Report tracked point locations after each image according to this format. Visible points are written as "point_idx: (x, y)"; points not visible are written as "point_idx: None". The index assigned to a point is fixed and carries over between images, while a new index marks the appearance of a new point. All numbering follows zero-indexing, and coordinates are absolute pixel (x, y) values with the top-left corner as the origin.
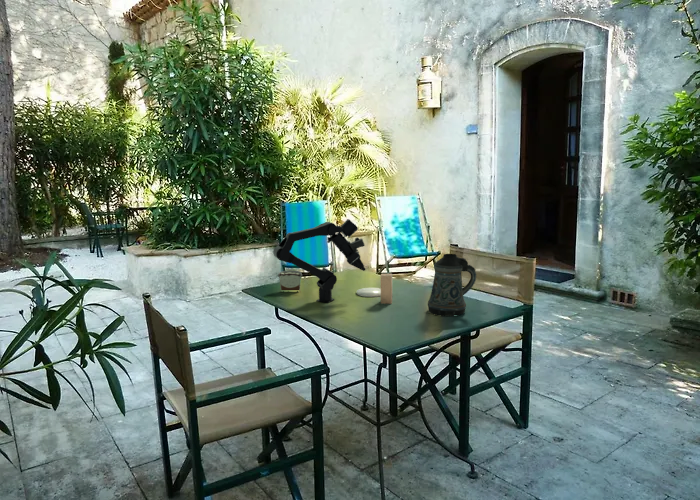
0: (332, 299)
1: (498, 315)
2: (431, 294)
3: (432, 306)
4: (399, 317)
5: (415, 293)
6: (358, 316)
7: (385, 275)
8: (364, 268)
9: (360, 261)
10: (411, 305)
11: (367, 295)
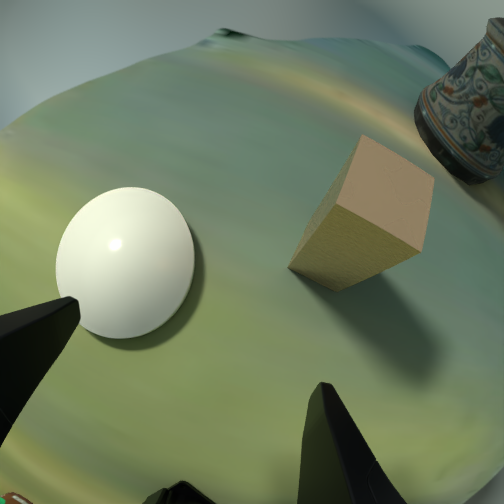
0: (193, 493)
1: None
2: (494, 146)
3: (493, 176)
4: (496, 290)
5: (221, 97)
6: (458, 424)
7: (417, 209)
8: (339, 401)
9: (405, 502)
10: None
11: (178, 307)
